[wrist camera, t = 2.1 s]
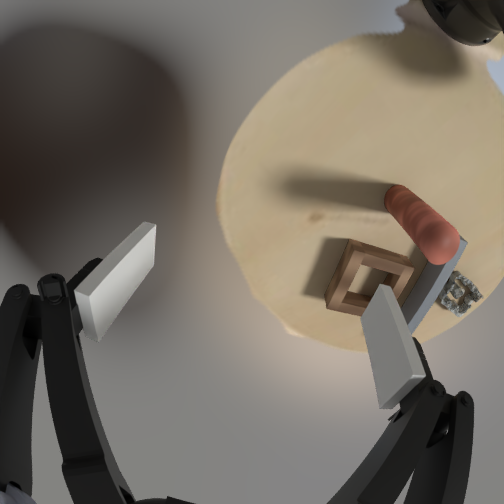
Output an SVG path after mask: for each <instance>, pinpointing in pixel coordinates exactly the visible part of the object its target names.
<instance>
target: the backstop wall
mask: <svg viewBox="0 0 504 504" xmlns="http://www.w3.org/2000/svg"><path fill="white" fill-rule="evenodd" d="M459 236H460V235H459ZM467 243H468V242H467V241H465V240H464V239H463V238H462V237H461V236H460V244H459V248H458V250H457V252H456V254H455V255H454V257H453V258H452V259H451V260H449V261H448V262H446V263H444V264H441V265H435V264H432V263H431V262H429V261H428V263H427V265H426V266H425V268H424V270H423V272H422V274H421V276H420V277H419V279H418V281H417V283H416V284H415V286H414V288H413V289H412V291H411V293H410V294H409V296H408V298H407V299H406V301H405V303H404V304H403V306H402V307H401V311H402V314H403V316H404V318H405V321H406V323H407V326H408V328H409V331H410V333H411V335H412V333H413V332H414V331H415V329H416V328H417V327H418V325H419V324H420V322H421V321H422V319H423V318H424V316H425V315H426V314H427V312H428V311H429V309H430V308H431V306H432V304H433V303H434V301H435V300H436V298H437V297H438V295H439V293H440V292H441V290H442V289H443V287H444V285H445V284H446V282H447V280H448V278H449V277H450V275H451V273H452V271H453V270H454V268H455V266H456V264H457V262H458V261H459V259H460V257H461V255H462V253H463V251H464V249H465V247H466V245H467Z"/></svg>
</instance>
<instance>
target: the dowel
mask: <svg viewBox="0 0 504 504" xmlns="http://www.w3.org/2000/svg"><path fill="white" fill-rule="evenodd" d="M384 204H385V207H386V209H387V210H388V211H389V212H390V213H391V215H392V216H393V217H394V218H395V219H396V220H397V222H398V223H399V224H400V225H401V226H402V228H403V229H404V230H405V231H406V232H407V234H408V235H409V236H410V237H411V239H412V240H413V241H414V242H415V244H416V245H417V246H418V247H419V249H420V250H421V251H422V253H423V254H424V255H425V257H426V258H427V259H428V261H429V262H431V263H432V264H435V265H441V264H444V263H446V262H448V261H449V260H451V259H452V258H453V257H454V255H455V254H456V252H457V250H458V248H459V244H460V236H459V233H458V231H457V230H456V229H455V228H454V227H453V226H452V225H451V224H450V223H449V222H448V221H446V220H445V219H444V218H443V217H442V216H441V215H440V214H438V213H437V212H436V211H435V210H434V209H432V208H431V207H430V206H429V205H428V204H426V203H425V202H424V201H423V200H422V199H420V198H419V197H418V196H416V195H415V194H414V193H413V192H411V191H410V190H409V189H407V188H406V187H405V186H402V185H395V186H393V187H391V188H390V189H389V190H388V191H387V192H386V194H385V198H384Z"/></svg>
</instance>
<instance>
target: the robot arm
mask: <svg viewBox="0 0 504 504" xmlns="http://www.w3.org/2000/svg"><path fill="white" fill-rule="evenodd" d="M423 3H424V5H425V7H426V9H427V10H428V12H429V14H430V15H431V17H432V18H433V19H434V21H435V22H436V23H437V24H438V25H439V26H440V27H441V28H442V29H443V30H444V31H445V32H446V33H447V34H448V35H450V36H451V37H452V38H454V39H455V40H457V41H459V42H461V43H463V44H465V45H469V46H480V45H485V44H487V43H489V42H490V41H491V40H492V39H493V38H494V37H495V36H496V35H498V34H499V33H500V32H501V31H503V33H504V0H423ZM155 234H156V225H155V224H152V223H148V222H143V223H142V224H141V225H140V226H139V227H138V228H137V229H136V230H134V231H133V232H132V233H131V234H130V235H129V236H128V237H127V238H126V239H125V240H124V241H123V242H121V243H120V244H119V245H118V246H117V247H116V248H115V249H114V250H113V251H112V252H111V253H110V254H109V255H108V256H107V257H106V258H105V259H104V260H103V259H100V258H95V259H93V260H91V261H89V262H88V263H87V264H86V265H85V266H84V267H83V269H81V270H80V271H79V272H78V274H76V275H75V276H74V277H73V278H72V279H71V280H70V281H69V282H68V283H67V284H66V281H65V278H64V277H63V276H62V275H60V274H48V275H45V276H44V277H42V278H41V279H40V280H39V281H38V284H37V287H38V291H39V294H40V296H39V295H32V294H30V291H29V288H28V287H27V286H26V285H24V284H16V285H14V286H12V287H11V288H9V289H8V291H7V292H6V294H5V296H4V299H3V301H2V304H1V306H0V504H36V502H35V501H34V500H33V499H32V498H31V495H32V456H31V432H32V412H33V399H34V389H35V381H36V374H37V367H38V361H39V355H40V350H41V345H43V356H44V357H43V358H44V367H45V375H46V384H47V390H48V397H49V402H50V408H51V413H52V418H53V422H54V426H55V430H56V435H57V439H58V443H59V446H60V449H61V453H62V457H63V464H62V472H63V476H64V479H65V482H66V485H67V487H68V490H69V492H70V495H71V497H72V500H73V502H74V504H194V503H190V502H186V501H183V500H179V499H175V498H172V497H168V496H167V499H162V498H152V499H145V500H139V501H136V500H135V498H134V496H133V494H132V492H131V490H130V489H129V487H128V485H127V483H126V481H125V479H124V478H123V476H122V474H121V472H120V470H119V468H118V465H117V463H116V461H115V458H114V456H113V454H112V451H111V448H110V446H109V443H108V440H107V438H106V435H105V432H104V429H103V427H102V424H101V421H100V417H99V414H98V411H97V408H96V405H95V401H94V398H93V394H92V391H91V387H90V383H89V379H88V375H87V371H86V366H85V362H84V358H83V352H82V347H81V342H80V337H79V333H80V331H81V330H82V329H83V330H84V334H85V337H87V338H90V339H92V340H94V341H96V342H100V340H101V339H102V337H103V335H104V334H105V333H106V331H107V330H108V328H109V327H110V325H111V323H112V322H113V321H114V319H115V318H116V317H117V315H118V314H119V312H120V311H121V309H122V308H123V307H124V305H125V304H126V302H127V301H128V300H129V298H130V297H131V296H132V294H133V293H134V291H135V290H136V289H137V287H138V286H139V284H140V283H141V282H142V281H143V279H144V278H145V276H146V275H147V274H148V273H149V271H150V270H151V269H152V267H153V266H154V252H155ZM360 319H361V323H362V327H363V331H364V335H365V339H366V344H367V348H368V352H369V357H370V361H371V366H372V371H373V376H374V381H375V385H376V391H377V397H378V402H379V408H380V409H393V408H394V407H395V406H396V405H397V404H398V403H400V409H399V410H398V411H397V412H396V413H395V414H394V415H392V416H391V417H390V418H389V419H388V420H389V421H390V420H391V419H392V420H391V422H390V423H389V425H388V426H387V428H386V430H385V431H384V433H383V434H382V436H381V437H380V438H379V440H378V441H377V443H376V444H375V446H374V447H373V449H372V450H371V451H370V453H369V454H368V455H367V457H366V458H365V459H364V461H363V462H362V463H361V464H360V466H359V467H358V468H357V469H356V471H355V472H354V473H353V474H352V476H351V477H350V478H349V479H348V481H347V482H346V483H345V484H344V485H343V486H342V487H341V489H340V490H339V491H338V492H337V493H336V494H335V496H333V498H331V500H330V501H329V502H328V503H327V504H394V502H395V501H396V499H397V498H398V496H399V495H400V493H401V491H402V489H403V488H404V486H405V485H406V483H407V481H408V480H409V478H410V476H411V474H412V473H413V471H414V473H413V476H412V480H411V483H410V486H409V489H408V492H407V495H406V498H405V501H404V504H463V503H464V499H465V494H466V489H467V483H468V477H469V471H470V463H471V455H472V444H473V428H474V402H473V399H472V397H471V396H470V394H468V393H467V392H465V391H460V392H459V393H458V394H457V395H456V396H452V395H450V394H447V393H446V390H445V388H444V386H443V385H442V384H441V383H440V382H439V381H437V380H433V377H432V374H431V371H430V368H429V366H428V363H427V360H425V359H426V358H425V355H424V354H423V350H422V347H421V345H420V343H419V342H418V341H417V339H416V338H415V337H412V336H411V333H410V331H409V328H408V326H407V323H406V321H405V318H404V316H403V314H402V311H401V309H400V307H399V304H398V302H397V300H396V297H395V295H394V293H393V291H392V289H391V287H390V286H387V285H383V284H380V285H379V287H378V288H377V290H376V292H375V294H374V296H373V297H372V299H371V301H370V303H369V304H368V306H367V308H366V310H365V311H364V313H363V315H362V316H361V318H360ZM447 430H448V433H447V435H446V432H447ZM414 469H415V470H414Z"/></svg>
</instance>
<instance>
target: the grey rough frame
mask: <svg viewBox="0 0 504 504" xmlns="http://www.w3.org/2000/svg"><path fill="white" fill-rule="evenodd" d="M456 278H457V279H460V280H461V282H462V283H463V284H464V286H466V284H467V286H468V287H469V288H470V290H471V291H472V293H471V294H468V295H466V296H465V298H464V303H463V304H462V305H457V303H456V302H455V300H450V299H449V297H448V296H447V294H448V293H449V291H450V292H451V294H452V295H453V297H454V298H455V299H458V298H459V297H461V296H463V294H464V292H465V289H463V288H462V289H461V288H460V287H459V285H458V284H457V283H456V282H455V279H456ZM438 296H439V298H440V299H441V301H442V302H441V303H442V304H443V305H444V306H445V307H447V308H448V309H449V310H450V311H451V312H453V313H454V314H455V315H456V316H457V317H461V316H462V315H463V314H464V313H466V311H467V309H468V308H471V303H472V302H473V301H475V302H478V301H479V299H480V298H482V299H483V296H482V295H481V293H480V292H479V291H478V289H477V287H476V286H475V285H474V284H473V283H472V282H471V281H470V280H469V279H467V278H466V277H464V276H463V275H462V274H461V273H460V272H459V271H457V272H455V273H451V275H450V277H449V282H448V283H447V284H446V285H444V287H443V289H442V290H441V292H440V293H439V295H438Z"/></svg>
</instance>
